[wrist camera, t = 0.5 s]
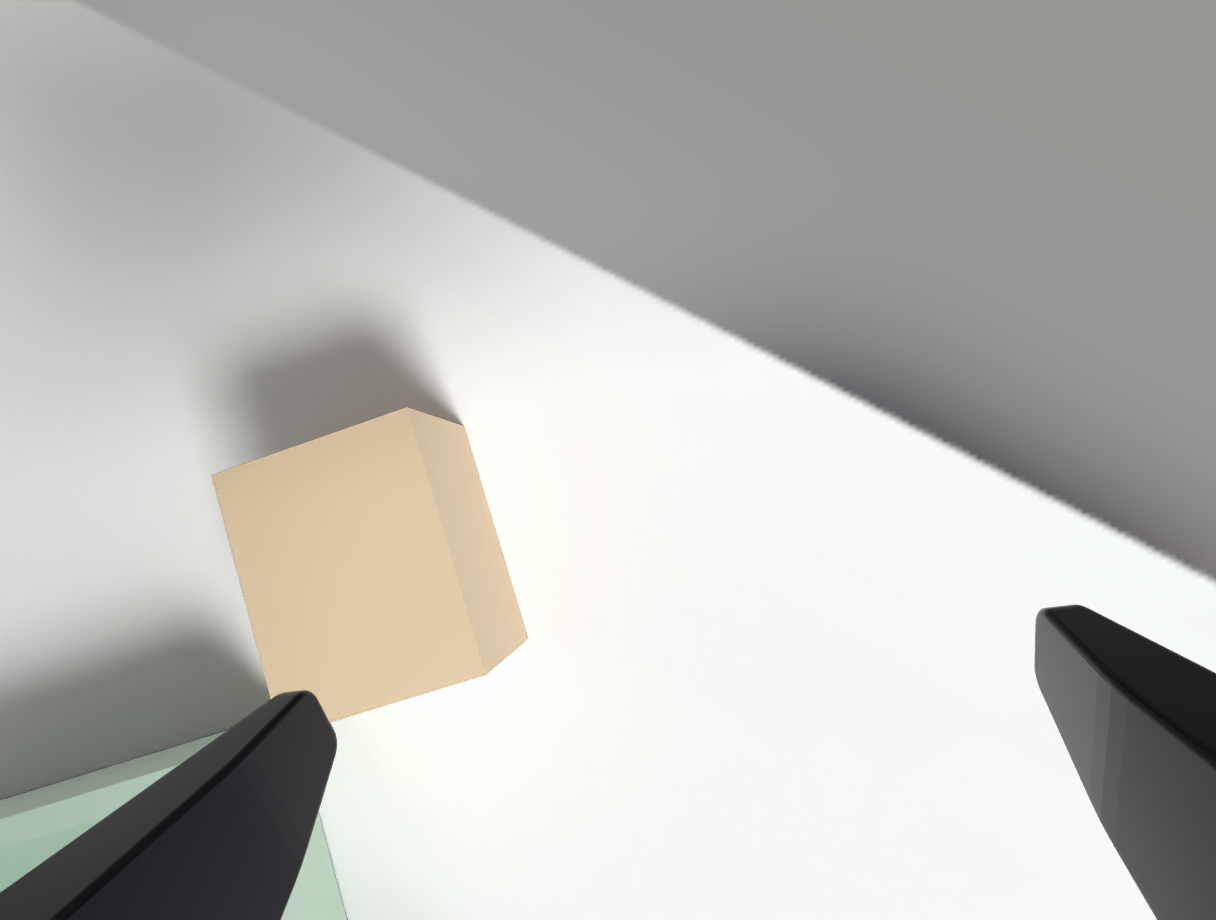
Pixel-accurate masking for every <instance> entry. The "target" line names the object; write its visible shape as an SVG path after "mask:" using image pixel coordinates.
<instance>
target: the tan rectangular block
mask: <svg viewBox="0 0 1216 920" xmlns="http://www.w3.org/2000/svg"><path fill="white" fill-rule="evenodd" d="M212 479H213V483H214V487H215V490H216V494H217V498H218V502H219V506H220V509H221V513H222V517H223V521H224V525H225V528H226V532H227V536H228V540H229V543H230V547H231V551H232V555H233V559H234V562H235V566H236V570H237V574H238V577H239V581H240V585H241V589H242V593H243V596H244V600H245V604H246V608H247V611H248V615H249V619H250V623H251V627H252V630H253V634H254V638H255V642H256V645H257V649H258V653H259V657H260V661H261V664H262V668H263V672H264V676H265V679H266V683H267V687H268V691H269V695H270V698H271V699H272V698H273V697H275V696H276V695H278V694H280V693H284V692H291V691H300V690H307V691H311V692H312V693H313V694H315V696H316V697H317V699H318V701H319V702H320V704H321V706H322V708H323V710H324V712H325V714H326V716H327V718H328V720H329V722H333V721H336V720H339V719H342V718H346V717H349V716H352V715H356V714H359V713H362V712H365V711H369V710H372V709H375V708H379V707H382V706H385V705H388V704H392V703H395V702H398V701H401V700H405V699H408V698H411V697H415V696H418V695H421V694H424V693H428V692H431V691H434V690H437V689H441V688H444V687H447V686H451V685H454V684H457V683H460V682H464V681H467V680H470V679H474V678H477V677H480V676H483V675H486V674H487V673H488V672H490V671H491V670H492V669H493V668H494V667H496V666H497V665H498V664H499V663H500V662H501V661H503V660H504V659H505V658H506V657H507V656H508V655H510V654H511V653H512V652H513V651H514V650H516V649H517V648H518V647H519V646H520V645H521V644H523V643H524V642H525V641H526V640H527V639H528V636H527V632H526V629H525V626H524V622H523V619H522V616H521V613H520V609H519V606H518V603H517V599H516V596H515V593H514V589H513V586H512V583H511V579H510V576H509V573H508V569H507V566H506V563H505V560H504V556H503V553H502V550H501V546H500V543H499V540H498V536H497V533H496V530H495V526H494V523H493V520H492V516H491V513H490V510H489V507H488V503H487V500H486V497H485V493H484V490H483V487H482V483H481V480H480V477H479V473H478V470H477V467H476V463H475V460H474V457H473V454H472V450H471V447H470V444H469V440H468V437H467V434H466V430H465V427H464V426H462V425H459V424H456V423H453V422H450V421H447V420H444V419H441V418H438V417H435V416H432V415H429V414H426V413H423V412H420V411H417V410H414V409H411V408H408V407H406V408H403V409H400V410H397V411H394V412H391V413H388V414H386V415H383V416H380V417H377V418H374V419H371V420H368V421H366V422H363V423H360V424H357V425H354V426H351V427H348V428H345V429H343V430H340V431H337V432H334V433H331V434H328V435H325V436H322V437H320V438H317V439H314V440H311V441H308V442H305V443H302V444H299V445H297V446H294V447H291V448H288V449H285V450H282V451H279V452H277V453H274V454H271V455H268V456H265V457H262V458H259V459H256V460H254V461H251V462H248V463H245V464H242V465H239V466H236V467H233V468H231V469H228V470H225V471H222V472H219V473H216V474H213V475H212Z"/></svg>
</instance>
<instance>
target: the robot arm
mask: <svg viewBox="0 0 1216 920" xmlns="http://www.w3.org/2000/svg"><path fill="white" fill-rule="evenodd" d="M1035 673H1036V678H1037V681H1038V685H1039V687H1040V690H1041V692H1042V694H1043V696H1044V699H1045V701H1046V703H1047V705H1048V708H1049V710H1050V712H1051V714H1052V716H1053V719H1054V721H1055V723H1056V725H1057V728H1058V730H1059V732H1060V734H1061V736H1062V739H1063V741H1064V743H1065V745H1066V748H1067V750H1068V752H1069V754H1070V756H1071V759H1072V761H1073V763H1074V765H1075V768H1076V770H1077V772H1078V774H1079V776H1080V779H1081V781H1082V783H1083V785H1084V788H1085V790H1086V792H1087V794H1088V796H1089V799H1090V801H1091V803H1092V805H1093V807H1094V809H1095V811H1096V813H1097V815H1098V817H1099V820H1100V822H1101V823H1102V825H1103V827H1104V829H1105V831H1106V832H1107V834H1108V836H1109V838H1110V840H1111V842H1112V843H1113V845H1114V847H1115V849H1116V850H1117V852H1118V854H1119V855H1120V857H1121V859H1122V860H1123V862H1124V864H1125V866H1126V867H1127V869H1128V871H1129V872H1130V874H1131V876H1132V878H1133V879H1134V881H1135V883H1136V884H1137V886H1138V888H1139V890H1140V891H1141V893H1142V895H1143V896H1144V898H1145V900H1146V901H1147V903H1148V905H1149V907H1150V908H1151V910H1152V912H1153V913H1154V915H1155V917H1156V919H1157V920H1216V673H1214V672H1212V671H1210V670H1208V669H1206V668H1204V667H1202V666H1200V665H1199V664H1197V663H1195V662H1193V661H1191V660H1189V659H1187V658H1185V657H1183V656H1181V655H1179V654H1177V653H1175V652H1173V651H1171V650H1169V649H1167V648H1165V647H1163V646H1161V645H1159V644H1157V643H1155V642H1153V641H1151V640H1149V639H1147V638H1145V637H1144V636H1142V635H1140V634H1138V633H1136V632H1134V631H1132V630H1130V629H1128V628H1126V627H1124V626H1122V625H1120V624H1118V623H1116V622H1114V621H1112V620H1110V619H1108V618H1106V617H1104V616H1102V615H1100V614H1098V613H1096V612H1094V611H1092V610H1090V609H1089V608H1086V607H1084V606H1081V605H1067V606H1058V607H1049V608H1044V609H1042V610H1040V611H1039V612H1038V614H1037V617H1036V630H1035ZM336 749H337V739H336V734H335V732H334V729H333V727H332V726H331V724H330V722H329V720H328V718H327V716H326V714H325V712H324V710H323V708H322V706H321V704H320V702H319V701H318V699H317V697H316V696H315V694H313V693H312V692H311V691H307V690H300V691H291V692H284V693H280V694H278V695H276V696H275V697H273V698H272V699H271V700H269V701H268V702H266V703H265V704H264V705H262V706H261V707H259V708H258V709H256V710H255V711H254V712H252V713H251V714H249V715H248V716H247V717H245V718H244V719H242V720H241V721H240V722H238V723H237V724H235V725H234V726H233V727H231V728H230V729H228V730H227V731H226V732H224V733H223V734H221V735H220V736H219V737H217V738H216V739H214V740H213V741H212V742H210V743H209V744H207V745H206V746H205V747H203V748H202V749H200V750H199V751H198V752H196V753H195V754H193V755H192V756H191V757H189V758H188V759H186V760H185V761H184V762H182V763H181V764H179V765H178V766H177V767H175V768H174V769H172V770H171V771H170V772H168V773H167V774H165V775H164V776H163V777H161V778H160V779H158V780H157V781H156V782H154V783H153V784H151V785H150V786H149V787H147V788H146V789H144V790H143V791H142V792H140V793H139V794H137V795H136V796H135V797H133V798H132V799H130V800H129V801H128V802H126V803H125V804H123V805H122V806H120V807H119V808H118V809H116V810H115V811H113V812H112V813H111V814H109V815H108V816H106V817H105V818H104V819H102V820H101V821H99V822H98V823H97V824H95V825H94V826H92V827H91V828H90V829H88V830H87V831H85V832H84V833H83V834H81V835H80V836H78V837H77V838H76V839H74V840H73V841H71V842H70V843H69V844H67V845H66V846H64V847H63V848H62V849H60V850H59V851H57V852H56V853H55V854H53V855H52V856H50V857H49V858H48V859H46V860H45V861H43V862H42V863H41V864H39V865H38V866H36V867H35V868H34V869H32V870H31V871H29V872H28V873H27V874H25V875H24V876H22V877H21V878H20V879H18V880H17V881H15V882H14V883H13V884H11V885H10V886H8V887H7V888H6V889H4V890H3V891H1V892H0V920H281V919H282V916H283V914H284V911H285V908H286V906H287V903H288V901H289V898H290V896H291V893H292V891H293V888H294V886H295V883H296V880H297V878H298V875H299V872H300V870H301V867H302V864H303V861H304V858H305V855H306V851H307V848H308V845H309V842H310V838H311V835H312V832H313V828H314V825H315V822H316V818H317V815H318V812H319V808H320V805H321V802H322V798H323V795H324V791H325V788H326V785H327V781H328V778H329V775H330V771H331V768H332V765H333V761H334V758H335V754H336Z"/></svg>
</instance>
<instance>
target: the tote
mask: <svg viewBox="0 0 1216 920" xmlns="http://www.w3.org/2000/svg"><path fill="white" fill-rule="evenodd" d="M226 731H227V730H226ZM226 731H223V732H220V733H216V734H213V735H210V736H207V737H204V738H200V739H197V740H194V741H191V742H187V743H184V744H181V745H178V746H174V747H171V748H168V749H165V750H161V751H158V752H155V753H152V754H149V755H145V756H142V757H139V758H136V759H132V760H129V761H126V762H123V763H119V764H116V765H113V766H110V767H106V768H103V769H100V770H97V771H93V772H90V773H87V774H84V775H81V776H77V777H74V778H71V779H68V780H64V781H61V782H58V783H55V784H51V785H48V786H45V787H42V788H38V789H35V790H32V791H29V792H25V793H22V794H19V795H16V796H13V797H9V798H6V799H3V800H0V892H1V891H3V890H4V889H6V888H7V887H8V886H10V885H11V884H13V883H14V882H15V881H17V880H18V879H20V878H21V877H22V876H24V875H25V874H27V873H28V872H29V871H31V870H32V869H34V868H35V867H36V866H38V865H39V864H41V863H42V862H43V861H45V860H46V859H48V858H49V857H50V856H52V855H53V854H55V853H56V852H57V851H59V850H60V849H62V848H63V847H64V846H66V845H67V844H69V843H70V842H71V841H73V840H74V839H76V838H77V837H78V836H80V835H81V834H83V833H84V832H85V831H87V830H88V829H90V828H91V827H92V826H94V825H95V824H97V823H98V822H99V821H101V820H102V819H104V818H105V817H106V816H108V815H109V814H111V813H112V812H113V811H115V810H116V809H118V808H119V807H120V806H122V805H123V804H125V803H126V802H128V801H129V800H130V799H132V798H133V797H135V796H136V795H137V794H139V793H140V792H142V791H143V790H144V789H146V788H147V787H149V786H150V785H151V784H153V783H154V782H156V781H157V780H158V779H160V778H161V777H163V776H164V775H165V774H167V773H168V772H170V771H171V770H172V769H174V768H175V767H177V766H178V765H179V764H181V763H182V762H184V761H185V760H186V759H188V758H189V757H191V756H192V755H193V754H195V753H196V752H198V751H199V750H200V749H202V748H203V747H205V746H206V745H207V744H209V743H210V742H212V741H213V740H214V739H216V738H217V737H219V736H220V735H221V734H223V733H224V732H226ZM281 920H347V917H346V913H345V910H344V906H343V902H342V898H341V895H340V891H339V887H338V883H337V880H336V876H335V872H334V868H333V865H332V861H331V857H330V853H329V850H328V846H327V842H326V838H325V835H324V831H323V827H322V823H321V820H320V816H319V812H318V815H317V818H316V822H315V825H314V828H313V832H312V835H311V838H310V842H309V845H308V848H307V851H306V855H305V858H304V861H303V864H302V867H301V870H300V872H299V875H298V878H297V880H296V883H295V886H294V888H293V891H292V893H291V896H290V898H289V901H288V903H287V906H286V908H285V911H284V914H283V916H282V919H281Z"/></svg>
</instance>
